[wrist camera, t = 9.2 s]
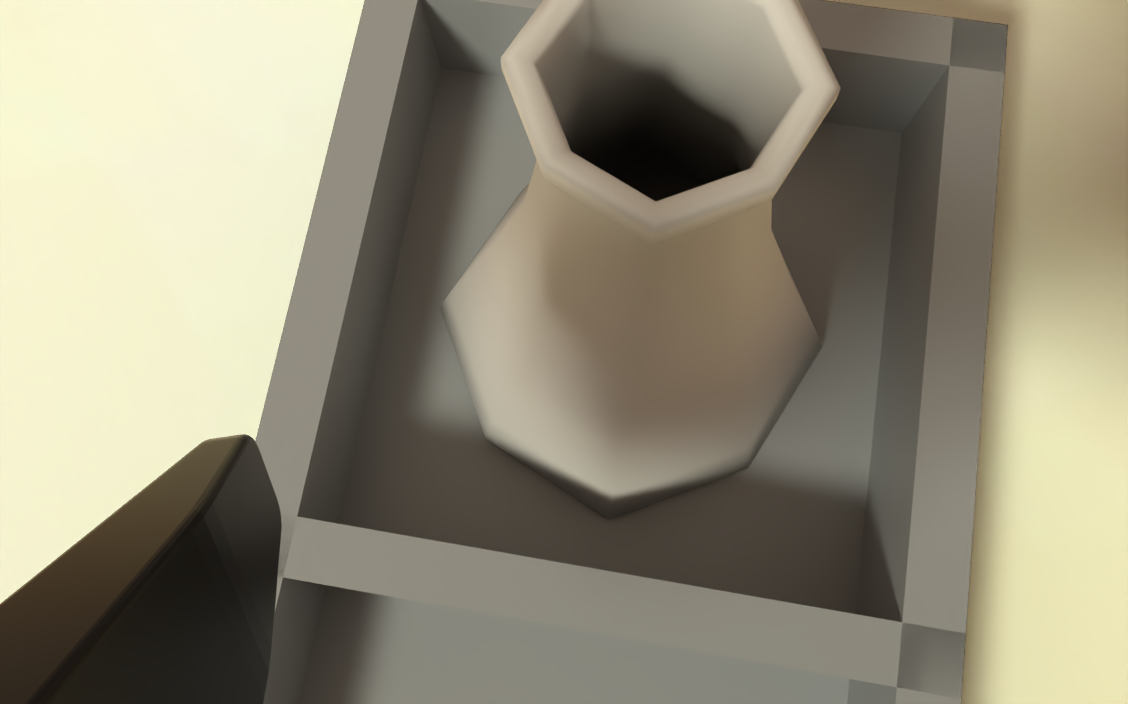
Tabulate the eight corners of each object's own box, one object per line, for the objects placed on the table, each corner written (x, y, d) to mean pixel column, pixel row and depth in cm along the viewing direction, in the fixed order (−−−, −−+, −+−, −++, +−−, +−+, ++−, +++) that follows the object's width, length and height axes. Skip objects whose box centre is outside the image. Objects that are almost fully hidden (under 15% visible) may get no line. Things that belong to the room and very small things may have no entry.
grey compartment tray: (831, 1361, 16) (900, 1581, 12) (142, 1205, 16) (25, 1371, 13) (939, 115, 21) (1007, 24, 17) (412, 41, 22) (379, -59, 18)
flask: (601, 588, 18) (615, 601, 8) (380, 303, 19) (167, 25, 10) (883, 356, 19) (1200, 119, 9) (652, 102, 20) (710, -342, 10)
